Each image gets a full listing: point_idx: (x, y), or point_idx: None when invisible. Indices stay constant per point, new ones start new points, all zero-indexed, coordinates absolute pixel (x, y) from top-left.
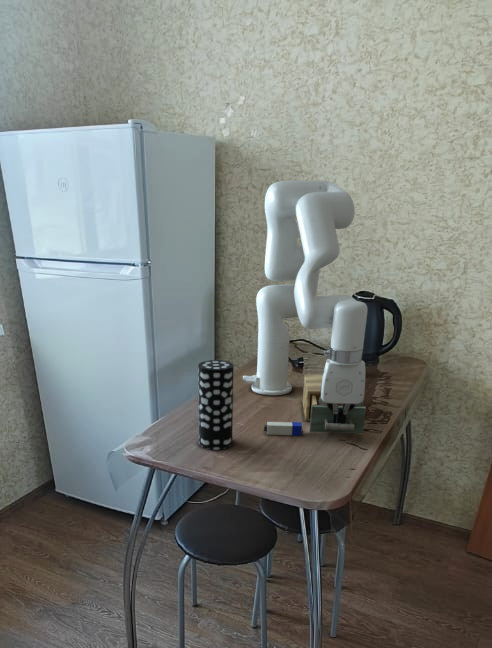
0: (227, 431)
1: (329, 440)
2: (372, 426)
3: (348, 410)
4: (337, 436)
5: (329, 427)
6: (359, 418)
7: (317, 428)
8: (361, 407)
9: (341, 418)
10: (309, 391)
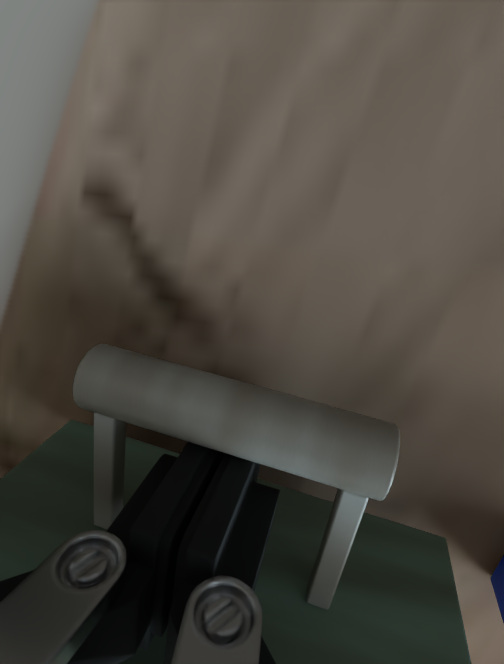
0: None
1: (321, 397)
2: None
3: (31, 573)
4: None
5: (352, 420)
6: (19, 510)
7: (388, 542)
8: None
9: (177, 498)
10: None
